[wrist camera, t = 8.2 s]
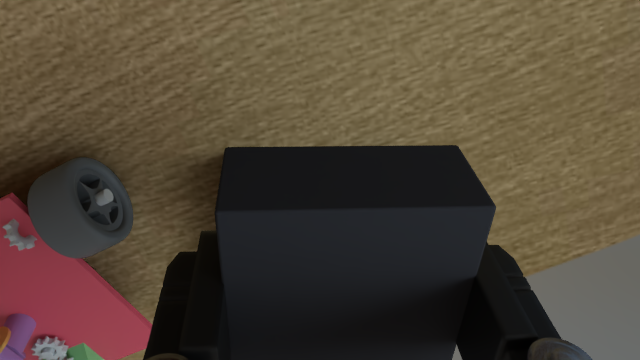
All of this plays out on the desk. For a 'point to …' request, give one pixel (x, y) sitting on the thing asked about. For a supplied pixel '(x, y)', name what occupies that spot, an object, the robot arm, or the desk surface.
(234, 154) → the loose pad
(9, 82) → the desk surface
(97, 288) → the toy car
